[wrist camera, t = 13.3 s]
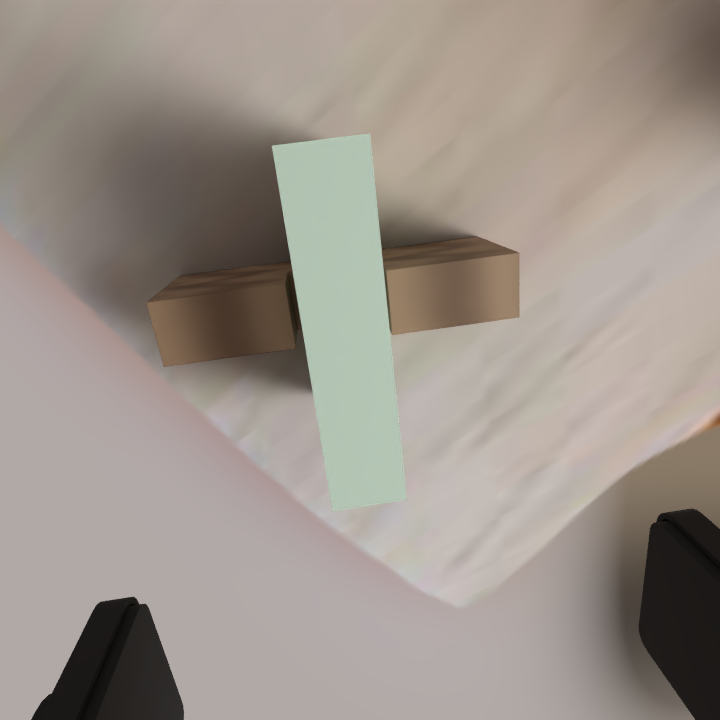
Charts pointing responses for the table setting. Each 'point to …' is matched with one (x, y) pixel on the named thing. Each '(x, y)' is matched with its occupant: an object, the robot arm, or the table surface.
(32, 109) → the table surface
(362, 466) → the sage slotted plate
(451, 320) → the walnut slotted plate
